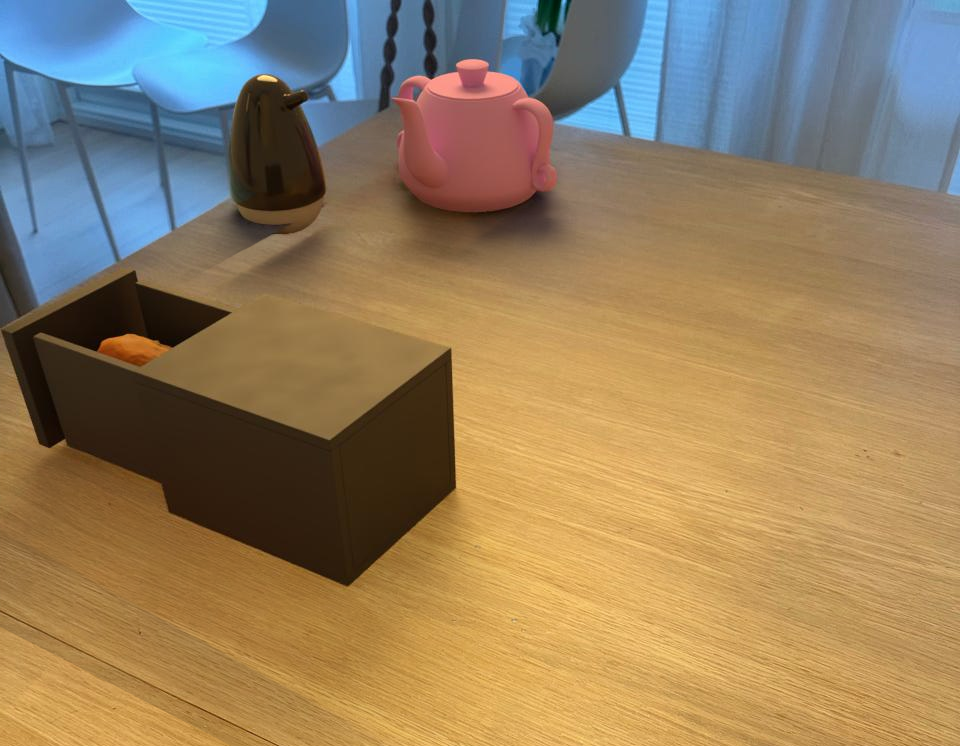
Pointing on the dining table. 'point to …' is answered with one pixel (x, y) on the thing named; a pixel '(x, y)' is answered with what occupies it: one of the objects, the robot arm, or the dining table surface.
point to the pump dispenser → (274, 157)
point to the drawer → (99, 364)
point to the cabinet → (302, 433)
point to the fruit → (132, 349)
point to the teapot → (473, 140)
